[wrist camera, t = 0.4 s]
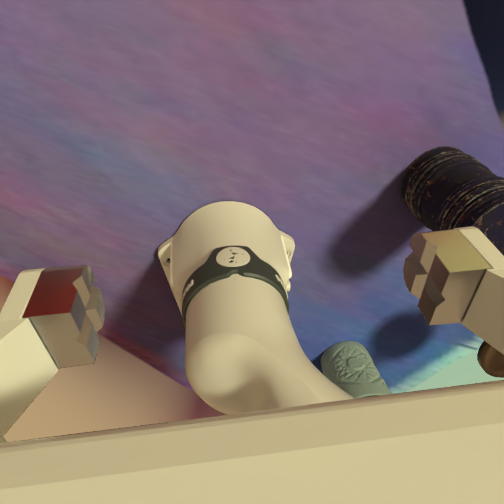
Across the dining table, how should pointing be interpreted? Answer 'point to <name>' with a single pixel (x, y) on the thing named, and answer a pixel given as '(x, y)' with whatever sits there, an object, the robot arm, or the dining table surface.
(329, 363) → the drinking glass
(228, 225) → the robot arm
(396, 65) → the dining table surface
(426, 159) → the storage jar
